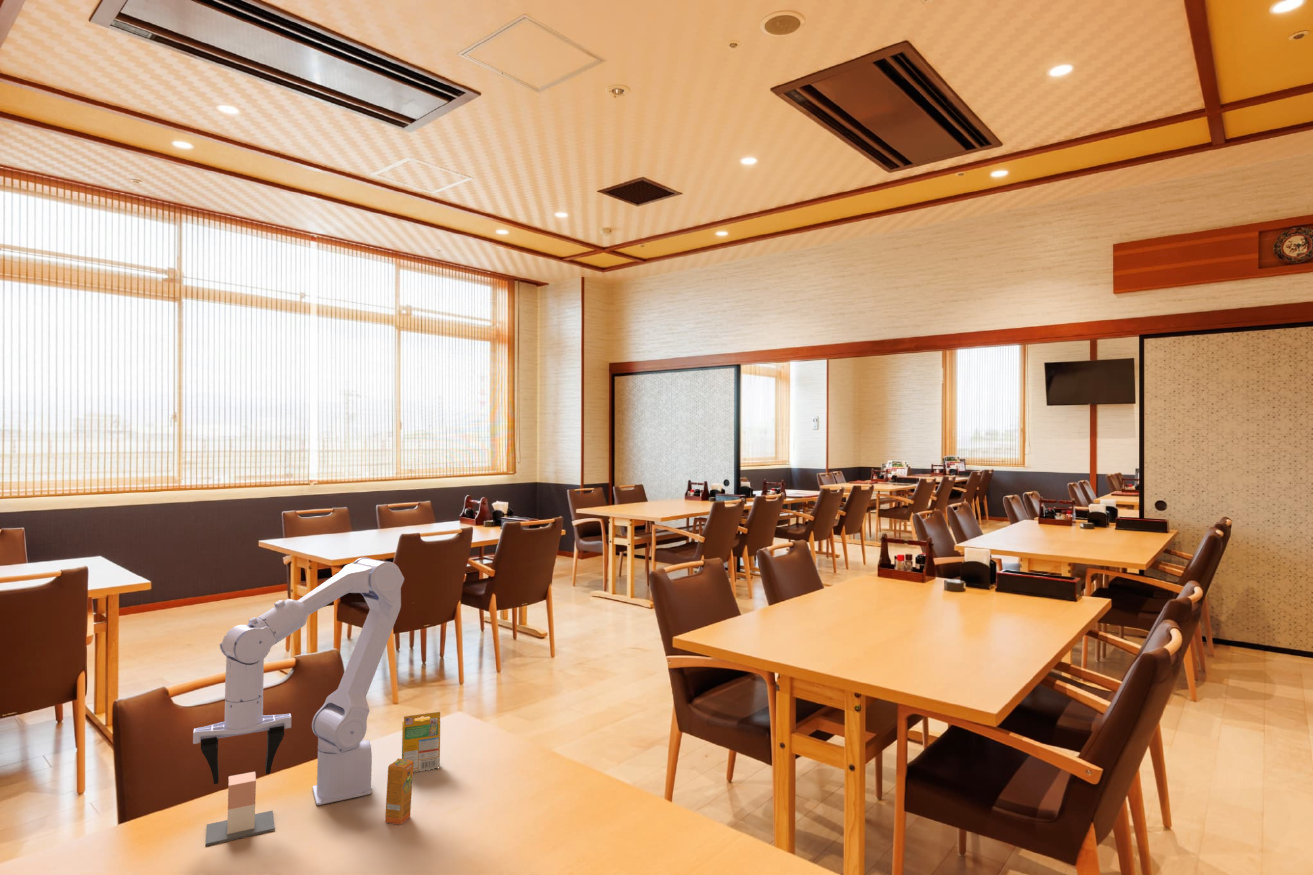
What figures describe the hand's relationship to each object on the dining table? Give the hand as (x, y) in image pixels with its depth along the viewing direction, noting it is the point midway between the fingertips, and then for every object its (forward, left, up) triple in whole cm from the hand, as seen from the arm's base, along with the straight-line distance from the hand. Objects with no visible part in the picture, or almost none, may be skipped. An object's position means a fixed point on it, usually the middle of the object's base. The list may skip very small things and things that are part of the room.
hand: (242, 776), depth 123 cm
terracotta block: (0, 0, -4) cm, 4 cm away
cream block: (0, 0, -8) cm, 8 cm away
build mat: (0, 0, -9) cm, 9 cm away
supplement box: (-24, +10, -9) cm, 27 cm away
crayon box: (-32, -9, -9) cm, 34 cm away
